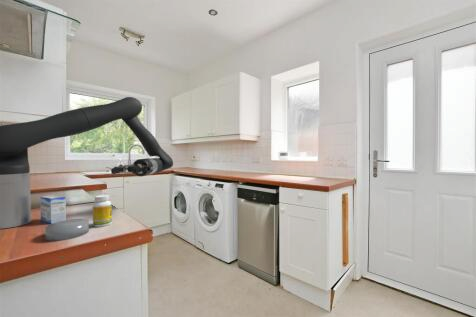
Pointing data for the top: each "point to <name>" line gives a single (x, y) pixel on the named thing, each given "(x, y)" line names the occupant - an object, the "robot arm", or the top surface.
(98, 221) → the supplement bottle
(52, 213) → the medicine box
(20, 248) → the top surface
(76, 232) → the plinth
